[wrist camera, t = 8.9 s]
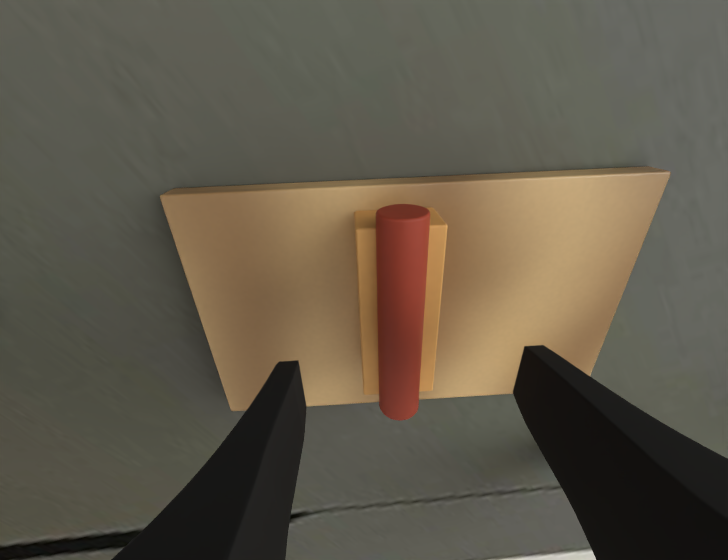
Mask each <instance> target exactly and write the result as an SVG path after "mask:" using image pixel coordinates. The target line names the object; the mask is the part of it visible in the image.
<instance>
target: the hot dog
mask: <svg viewBox="0 0 728 560" xmlns="http://www.w3.org/2000/svg"><path fill="white" fill-rule="evenodd" d="M354 224H355V243H356V262H357V282H358V301H359V321H360V340H361V359H362V377H363V393H364V395H373V394H379V406H380V409H381V411H382V412H383V413H384V414H385V415H386V416H387V417H389V418H391V419H393V420H406V419H409V418H411V417H412V416H413V415H414V414H415V413H416V412H417V410H418V404H419V392H422V391H432V390H433V382H434V371H435V360H436V349H437V338H438V327H439V316H440V305H441V294H442V283H443V272H444V261H445V249H446V238H447V227H448V226H447V224H446V223H445V222H444V220H443V219H442V218H441V217H440V215H439V214H438V213H437V212H436V211H435V209H434V208H432V207H429V208H425V207H422V206H418V205H413V204H394V205H388V206H385V207H382V208H380V209H378V210H367V211H355V212H354Z"/></svg>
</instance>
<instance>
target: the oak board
mask: <svg viewBox="0 0 728 560" xmlns="http://www.w3.org/2000/svg"><path fill="white" fill-rule="evenodd" d="M670 174H671V172H670V171H667V170H662V169H658V168H653V167H648V166H646V167H625V168H603V169H582V170H560V171H539V172H517V173H496V174H474V175H452V176H431V177H409V178H388V179H366V180H345V181H323V182H302V183H280V184H259V185H237V186H215V187H194V188H174V189H172V190H170V191H168V192H166V193H164V194H162V195H160V200H161V203H162V206H163V209H164V212H165V215H166V218H167V221H168V224H169V227H170V230H171V233H172V236H173V239H174V242H175V244H176V247H177V250H178V253H179V256H180V259H181V262H182V265H183V268H184V271H185V274H186V277H187V280H188V283H189V286H190V289H191V292H192V295H193V298H194V301H195V304H196V307H197V310H198V313H199V316H200V319H201V322H202V325H203V328H204V331H205V334H206V337H207V340H208V343H209V346H210V349H211V352H212V355H213V358H214V361H215V364H216V367H217V370H218V373H219V376H220V379H221V382H222V385H223V388H224V391H225V394H226V397H227V400H228V403H229V406H230V409H231V411H242V410H247V409H248V407H249V406H250V405H251V403H252V402H253V400H254V399H255V397H256V396H257V394H258V393H259V391H260V390H261V388H262V387H263V385H264V383H265V382H266V380H267V379H268V377H269V375H270V374H271V372H272V370H273V369H274V367H275V365H276V364H277V363H278V362H279V361H295V360H299V366H300V372H301V378H302V383H303V389H304V395H305V401H306V406H322V405H338V404H354V403H370V402H379V394H373V395H364V393H363V377H362V359H361V340H360V321H359V301H358V282H357V262H356V243H355V224H354V212H355V211H367V210H378V209H380V208H382V207H385V206H388V205H394V204H413V205H418V206H422V207H425V208H429V207H432V208H434V209H435V211H436V212H437V213H438V214H439V215H440V217H441V218H442V219H443V220H444V222H445V223H446V224H447V226H448V227H447V238H446V249H445V261H444V272H443V283H442V294H441V305H440V316H439V327H438V338H437V349H436V360H435V371H434V382H433V390H432V391H422V392H419V399H434V398H449V397H465V396H481V395H497V394H513V389H514V385H515V381H516V377H517V373H518V369H519V365H520V361H521V357H522V354H523V350H524V346H535V345H544V346H546V347H547V348H549V349H550V350H552V351H553V352H555V353H556V354H558V355H559V356H561V357H562V358H564V359H565V360H567V361H568V362H570V363H571V364H573V365H574V366H575V367H577V368H578V369H580V370H581V371H583V372H584V373H586V374H587V375H589V376H590V374H591V372H592V369H593V367H594V364H595V362H596V359H597V357H598V354H599V352H600V349H601V347H602V344H603V342H604V339H605V337H606V334H607V332H608V329H609V327H610V324H611V322H612V319H613V317H614V314H615V312H616V309H617V307H618V304H619V302H620V299H621V297H622V294H623V292H624V289H625V287H626V284H627V282H628V279H629V277H630V274H631V272H632V269H633V267H634V264H635V262H636V259H637V257H638V254H639V252H640V249H641V247H642V244H643V242H644V239H645V237H646V234H647V232H648V229H649V227H650V224H651V222H652V219H653V217H654V214H655V212H656V209H657V207H658V204H659V202H660V199H661V197H662V194H663V192H664V189H665V187H666V184H667V182H668V179H669V177H670Z"/></svg>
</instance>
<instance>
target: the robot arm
mask: <svg viewBox="0 0 728 560" xmlns="http://www.w3.org/2000/svg"><path fill="white" fill-rule="evenodd" d="M513 394H514V397H515V399H516V402H517V404H518V407H519V409H520V412H521V414H522V416H523V419H524V421H525V423H526V425H527V427H528V429H529V430H530V432H531V434H532V436H533V438H534V439H535V441H536V443H537V445H538V447H539V448H540V450H541V452H542V454H543V455H544V457H545V459H546V461H547V462H548V464H549V466H550V468H551V470H552V471H553V473H554V475H555V477H556V478H557V480H558V482H559V484H560V485H561V487H562V489H563V491H564V492H565V494H566V496H567V498H568V500H569V502H570V504H571V506H572V508H573V509H574V511H575V513H576V516H577V518H578V520H579V522H580V524H581V526H582V529H583V531H584V533H585V535H586V537H587V540H588V542H589V544H590V546H591V548H592V550H593V553H594V555H595V557H596V560H728V459H727V458H725V457H723V456H721V455H719V454H717V453H716V452H714V451H712V450H710V449H708V448H706V447H704V446H703V445H701V444H699V443H697V442H695V441H693V440H692V439H690V438H688V437H686V436H684V435H683V434H681V433H679V432H677V431H675V430H674V429H672V428H670V427H668V426H667V425H665V424H663V423H662V422H660V421H658V420H657V419H655V418H653V417H652V416H650V415H649V414H647V413H645V412H644V411H642V410H640V409H639V408H637V407H636V406H634V405H632V404H631V403H629V402H628V401H626V400H625V399H623V398H621V397H620V396H618V395H617V394H615V393H614V392H612V391H611V390H609V389H608V388H606V387H605V386H603V385H602V384H600V383H599V382H597V381H596V380H594V379H593V378H591V377H590V376H589V375H587V374H586V373H584V372H583V371H581V370H580V369H578V368H577V367H575V366H574V365H573V364H571V363H570V362H568V361H567V360H565V359H564V358H562V357H561V356H559V355H558V354H556V353H555V352H553V351H552V350H550V349H549V348H547V347H546V346H544V345H535V346H524V350H523V354H522V357H521V361H520V365H519V369H518V373H517V377H516V381H515V385H514V389H513ZM305 419H306V401H305V395H304V389H303V383H302V378H301V372H300V366H299V360H295V361H279V362H278V363H277V364H276V365H275V367H274V369H273V370H272V372H271V374H270V375H269V377H268V379H267V380H266V382H265V383H264V385H263V387H262V388H261V390H260V391H259V393H258V394H257V396H256V397H255V399H254V400H253V402H252V403H251V405H250V406H249V407H248V409H247V410H246V412H245V413H244V415H243V416H242V418H241V419H240V420H239V422H238V423H237V424H236V426H235V427H234V428H233V430H232V431H231V432H230V434H229V435H228V436H227V437H226V439H225V440H224V441H223V443H222V444H221V445H220V447H219V448H218V449H217V450H216V452H215V453H214V454H213V455H212V456H211V458H210V459H209V460H208V461H207V462H206V464H205V465H204V466H203V467H202V468H201V469H200V471H199V472H198V473H197V474H196V475H195V476H194V477H193V478H192V480H191V481H190V482H189V483H188V484H187V485H186V486H185V487H184V488H183V489H182V491H181V492H180V493H179V494H178V495H177V496H176V497H175V498H174V499H173V500H172V501H171V502H170V503H169V504H168V505H167V506H166V507H165V508H164V510H163V511H162V512H161V513H160V514H159V515H158V516H157V517H156V518H155V519H154V520H153V521H152V522H151V523H150V524H149V525H148V526H147V527H146V528H145V529H144V530H143V531H141V532H140V533H139V534H138V535H137V536H136V537H135V538H134V539H133V540H132V541H131V542H130V543H129V544H128V545H127V546H125V547H124V548H123V549H122V550H121V551H120V552H119V553H118V554H117V555H116V556H115V557H114V558H113V559H112V560H285V556H286V546H287V536H288V528H289V521H290V514H291V509H292V503H293V498H294V492H295V487H296V481H297V475H298V470H299V464H300V459H301V453H302V447H303V441H304V433H305Z"/></svg>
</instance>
